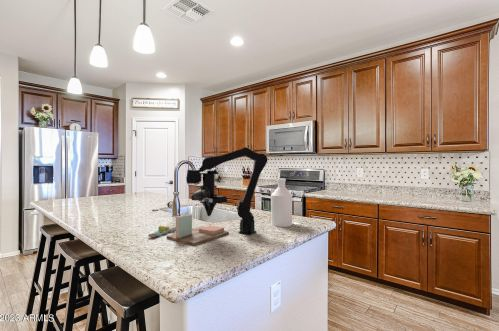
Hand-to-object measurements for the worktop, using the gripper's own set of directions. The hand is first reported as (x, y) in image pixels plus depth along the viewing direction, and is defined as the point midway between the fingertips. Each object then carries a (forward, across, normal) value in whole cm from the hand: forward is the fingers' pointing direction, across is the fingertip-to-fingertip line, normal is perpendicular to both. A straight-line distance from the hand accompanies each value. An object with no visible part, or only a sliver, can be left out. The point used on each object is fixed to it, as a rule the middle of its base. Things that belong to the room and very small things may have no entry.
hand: (209, 216), depth 129 cm
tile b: (+7, -4, -12) cm, 15 cm away
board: (+8, -1, -6) cm, 10 cm away
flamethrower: (+9, -20, -8) cm, 23 cm away
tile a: (+6, -3, 0) cm, 7 cm away
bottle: (+9, +19, +37) cm, 42 cm away
